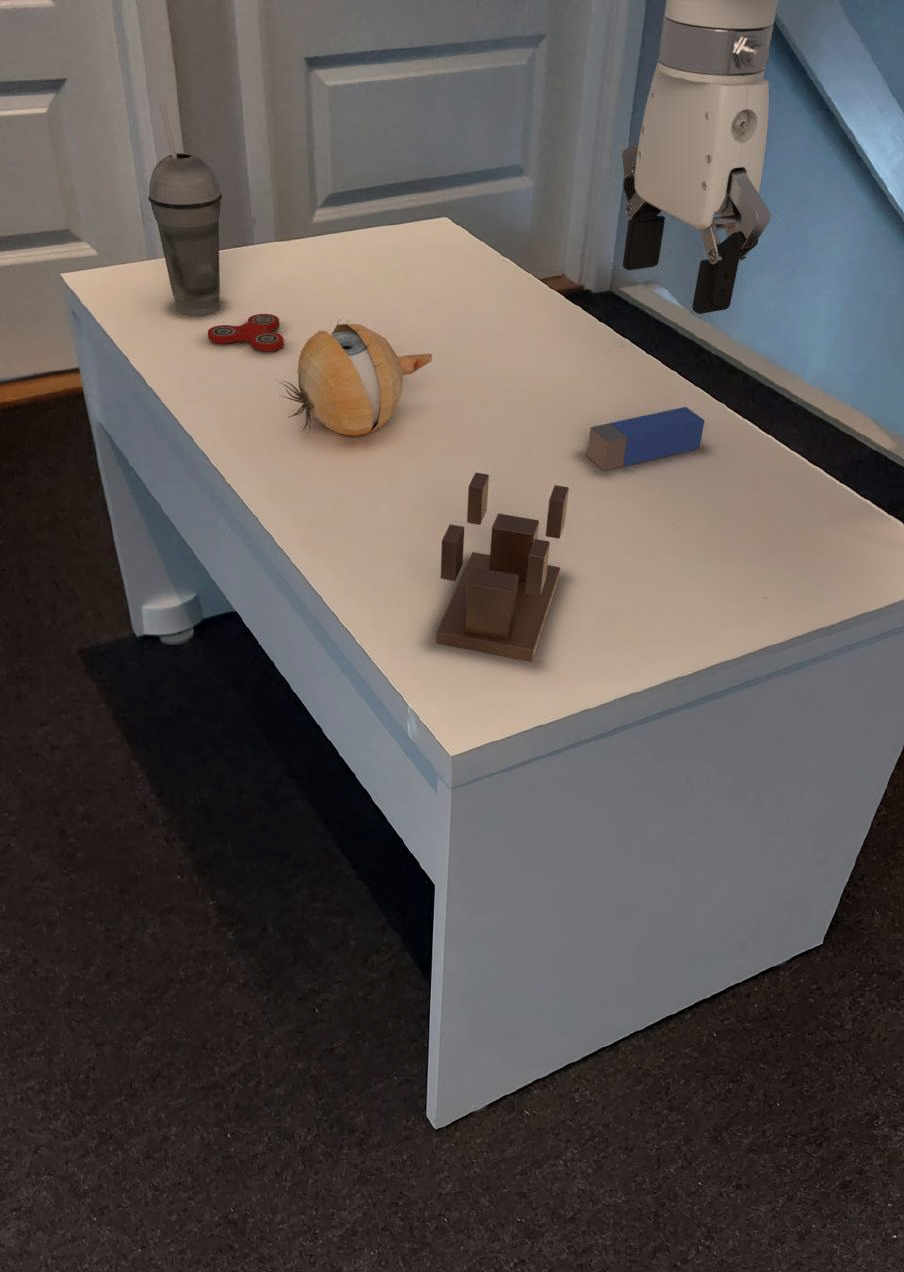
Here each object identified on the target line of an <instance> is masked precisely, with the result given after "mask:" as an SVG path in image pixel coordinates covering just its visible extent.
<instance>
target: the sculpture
mask: <svg viewBox="0 0 904 1272" xmlns="http://www.w3.org/2000/svg"><path fill="white" fill-rule="evenodd" d="M341 320H342V318H340V319H339V320H338V321H337V324H336V326H335V327H334V329H333V331H332V333H329V332H328V331H327V330H318V331H317V332H315V334H313V335H312V336H311V337H309V338H308V339H307V341H306V342H305V344H304V346H303V347H302V349H301V351H300V354H299V358H298V366H297V375H298V376H297V379H298V388H299V389H298V388H297V387H296V386H295V385H293V384H292V383H290V382H289V381H285V380H283V382H284V383H283V382H282V381H279V380H276V379H275V381H276V382H278V383H280V384H281V385H283V386H285V389H286V390H285V391H286V392H287V394H288V395H289V396H290V397H287V396H284V395H280V394H279V396H280V397H283V398H285V399H288V400H291V401H294V402H296V403H300V404H302V405H301V406H300V407H299V409H298V410H297V411H296V412H295V413H293V414H292V415H289V418H292V417H295V416H298V415H300V414H302V413H303V412H304V411H305V416H304V418H305V424H304V427H303V428H302V429H301V431H300V432H299V434H301V432H303V433H305V432H306V430H307V428H308V425H309V428H308V433H307V435H306V436H307V437H306V438H308V436H309V434H310V431H311V427H312V426H311V425H312V424H311V423H312V416H311V414H312V415H313V416H314V417H315V418H316V419H317V421H318V422H320V423H321V424H323V426H324V428H325V429H327V428H328V429H329V430H331V431H332V432H333V431H334V433H336V434H340V435H345V436H354V437H355V436H362V435H365V434H368V433H372V432H374V431H376V430H377V429H379V428H381V427H383V426H384V425H385V423H386V422H387V421H388V420H389V419H390V417H391V416H392V414H393V413H394V411H395V410H396V409H397V406H398V404H399V401H400V399H401V396H402V394H403V385H404V376H410V375H412V374H414V373H416V372H417V371H418V370H420V369H422V368H423V367H425V366H427V365H428V364H430V363H431V362H432V361H433V353H420V354H408V355H400V356H398V355H397V353H396V351H395V350H394V349H393V346H391V344H390V343H389V341H388V340H387V338H386V337H385V336H383V335H380V334H379V333H377V332H375V331H373V330H371V329H370V328H368V327H366V326H364V325H363V324H360V323H348V322H349V321H350V320H351V318H350V319H348V320H347V321H346V323H341V324H339V322H340V321H341ZM285 383H287V384H288V385H290V386H291V387H292V388H291V387H289V386H288V385H287V384H285ZM287 388H288V389H289V390H290V391H291V392H292V393H293V394H295V395H292V394H291V393H290V392H289V390H288V389H287Z"/></svg>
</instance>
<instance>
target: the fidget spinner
mask: <svg viewBox="0 0 904 1272" xmlns="http://www.w3.org/2000/svg"><path fill="white" fill-rule="evenodd" d="M278 328H280V319H279V317H278V316H277V315H275V314H271V313H258V314H253V315H251V316H249V317H248V318H247V322H245V323H243V324H242V325H231V324H230V325H229V324H220V325H214V326H212V327H210V328H209V329H208V330H207V338H208V340H209V341H210V342H212V343H215V344H230V343H234V342H245V343H249V344H250V345H251V347H252V348H253V349H255V350H258V351H263V352H270V351H276V350H280V349H281V348H283V346H284V343H285V341H284V337H283V336H282V334H280V333H276V332H272V331H274V330H276V329H278Z"/></svg>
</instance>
